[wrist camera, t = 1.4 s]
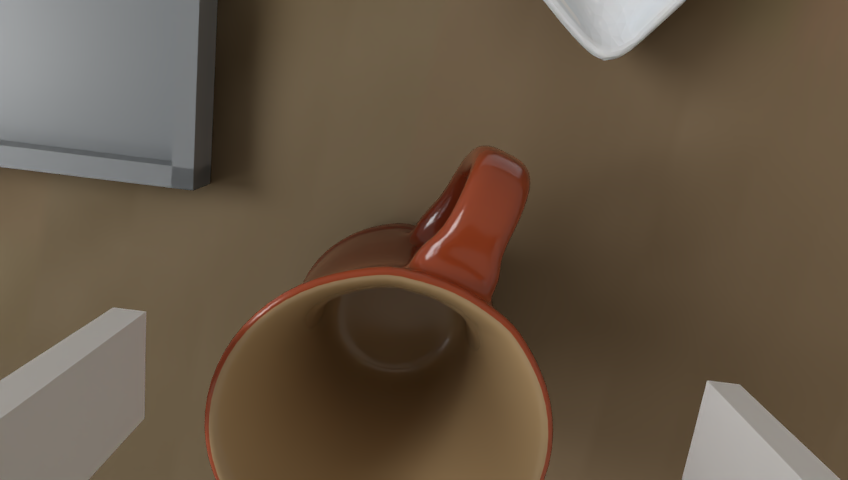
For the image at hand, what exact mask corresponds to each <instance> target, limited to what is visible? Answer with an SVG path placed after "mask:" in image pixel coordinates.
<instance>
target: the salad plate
mask: <svg viewBox="0 0 848 480" xmlns="http://www.w3.org/2000/svg"><path fill="white" fill-rule="evenodd" d="M543 1H544V2H545V3H546V4H547V6H548V7H549V8H550V9H551V11H552V12H553V13H554V14H555V16H556V17H557V18H558V19H559V21H560V22H561V23H562V24H563V25H564V26H565V28H566V29H567V30H568V31H569V32H570V33H571V34H572V36H573V37H574V38H575V39H576V40H577V41H578V42H579V43H580V44H581V46H582V47H584V48H585V49H586V50H587V51H588V52H589V53H591V54H592V55H594V56H595V57H597V58H599V59H602V60H612V59H616V58H619V57H621V56H623V55H624V54H626V53H628V52H629V51H631V50H632V49H633V48H634V47H636V46H637V45H638V44H639V43H640V42H641V41H643V40H644V39H645V38H646V37H647V36H648V35H649V34H650V33H651V32H653V31H654V30H655V29H656V28H657V27H658V26H659V25H660V24H661V23H662V22H663V21H665V20H666V19H667V18H668V17H669V16H670V15H671V14H672V13H673V12H674V11H676V10H677V9H678V8H679V7H680V6H681V5H682V4H683V3H684V2H685V1H686V0H543Z"/></svg>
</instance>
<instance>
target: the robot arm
mask: <svg viewBox="0 0 848 480" xmlns="http://www.w3.org/2000/svg"><path fill="white" fill-rule="evenodd" d="M145 356H146V311H138V310H130V309H122V308H114V307H113V308H111V309H110V310H108V311H107V312H105V313H104V314H102V315H101V316H99V317H98V318H96V319H94V320H93V321H91V322H90V323H88V324H87V325H85V326H84V327H82V328H81V329H79V330H77V331H76V332H74V333H73V334H71V335H70V336H68V337H67V338H65V339H64V340H62V341H60V342H59V343H57V344H56V345H54V346H53V347H51V348H50V349H48V350H47V351H45V352H44V353H42V354H40V355H39V356H37V357H36V358H34V359H33V360H31V361H30V362H28V363H27V364H25V365H23V366H22V367H20V368H19V369H17V370H16V371H14V372H13V373H11V374H10V375H8V376H6V377H5V378H3V379H2V380H0V480H89V479H90V478H91V477H92V475H93V474H94V473H95V472H96V471H97V470H98V469H99V468H100V467H101V466H102V464H103V463H104V462H105V461H106V460H107V459H108V458H109V457H110V456H111V455H112V453H113V452H114V451H115V450H116V449H117V448H118V447H119V446H120V445H121V444H122V442H123V441H124V440H125V439H126V438H127V437H128V436H129V435H130V434H131V433H132V432H133V430H134V429H135V428H136V427H137V426H138V425H139V424H140V423H141V422H142V421H143V419H144V418H145ZM682 480H841V479H839V478H838V477H837V476H836V475H835V474H834V473H833V472H832V471H831V470H830V469H829V468H828V467H827V466H826V465H825V464H824V463H822V462H821V461H820V460H819V459H818V458H817V457H816V456H815V455H814V454H813V453H812V452H811V451H810V450H809V449H808V448H807V447H806V446H804V445H803V444H802V443H801V442H800V441H799V440H798V439H797V438H796V437H795V436H794V435H793V434H792V433H791V432H790V431H789V430H787V429H786V428H785V427H784V426H783V425H782V424H781V423H780V422H779V421H778V420H777V419H776V418H775V417H774V416H773V415H772V414H770V413H769V412H768V411H767V410H766V409H765V408H764V407H763V406H762V405H761V404H760V403H759V402H758V401H757V400H756V399H755V398H754V397H752V396H751V395H750V394H749V393H748V392H747V391H746V390H745V389H744V388H743V387H742V386H741V385H740V384H733V383H725V382H716V381H708V380H707V383H706V387H705V391H704V395H703V399H702V402H701V406H700V410H699V414H698V418H697V422H696V426H695V430H694V434H693V438H692V442H691V446H690V450H689V453H688V457H687V461H686V465H685V469H684V473H683V477H682Z"/></svg>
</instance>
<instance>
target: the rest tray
mask: <svg viewBox="0 0 848 480" xmlns="http://www.w3.org/2000/svg"><path fill="white" fill-rule="evenodd" d="M217 4H218V0H0V167H5V168H13V169H21V170H29V171H38V172H46V173H54V174H62V175H70V176H79V177H87V178H95V179H103V180H111V181H120V182H128V183H136V184H144V185H153V186H161V187H169V188H177V189H185V190H195V189H198V188H200V187H203V186H205V185H208V184H210V176H211V152H212V127H213V102H214V78H215V53H216V28H217Z"/></svg>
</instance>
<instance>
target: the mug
mask: <svg viewBox="0 0 848 480" xmlns="http://www.w3.org/2000/svg"><path fill="white" fill-rule="evenodd" d="M529 189H530V176H529V172H528V170H527V168H526V166H525V165H524V164H523V163H522V162H521V161H520V160H518V159H517V158H515V157H514V156H512V155H510V154H508V153H506V152H504V151H502V150H500V149H498V148H495V147H492V146H479V147H477V148H475V149H473V150H472V151H471V152H470V153H469V154H468V155H467V156H466V158H465V159H464V160H463V161H462V163H461V164H460V166H459V167H458V169H457V171H456V172H455V174H454V175H453V177H452V179H451V180H450V182H449V184H448V185H447V187H446V188H445V190H444V192H443V193H442V194H441V196H440V197H439V198H438V199H437V201H436V202H435V203H434V204H433V205H432V206H431V207H430V208H429V209H428V210H427V211H426V212H425V214H424V215H423V216H422V217H421V219H420V220H419V222H418V223H417V224H416V226H415V225H411V224H404V223H395V224H386V225H380V226H375V227H371V228H367V229H364V230H362V231H359V232H356V233H354V234H352V235H350V236H348V237H347V238H345V239H343V240H341V241H340V242H338V243H337V244H335V245H334V246H332V247H331V248H330V249H329V250H327V251H326V252H325V253H324V254H323V255H322V256H321V257H320V258H319V259H318V260H317V262H316V263H315V264H314V265H313V267H312V268H311V270H310V271H309V273H308V274H307V276H306V278H305V280H304V282H303V284H300V285H298V286H296V287H294V288H292V289H290V290H288V291H286V292H285V293H283V294H281V295H280V296H278V297H277V298H275V299H274V300H272V301H270V302H269V303H268V304H267V305H265V306H264V307H263V308H262V309H260V310H259V311H258V312H257V313H255V314H254V315H253V316H252V317H251V318H250V319H249V320H248V321H247V322H246V323H245V324H244V325H243V326H242V328H241V329H240V330H239V331H238V332H237V334H236V335H235V336H234V337H233V339H232V340H231V342H230V343H229V345H228V346H227V348H226V349H225V351H224V353H223V355H222V357H221V359H220V361H219V363H218V365H217V367H216V370H215V372H214V375H213V377H212V380H211V384H210V388H209V392H208V395H207V402H206V408H205V440H206V447H207V452H208V458H209V461H210V464H211V468H212V471H213V474H214V476H215V479H216V480H544V479H545V476H546V472H547V469H548V466H549V461H550V456H551V451H552V440H553V418H552V410H551V403H550V398H549V394H548V391H547V387H546V384H545V381H544V378H543V376H542V373H541V370H540V368H539V366H538V364H537V362H536V360H535V358H534V356H533V354H532V352H531V351H530V349H529V347H528V345H527V344H526V342H525V341H524V339H523V337H522V336H521V334H520V333H519V332H518V330H517V329H516V328H515V326H514V325H513V324H512V323H511V322H510V321H509V320H508V319H507V318H505V317H504V316H503V315H502V314H501V313H500V312H498V311H497V310H496V309H495V308H494V307H493V303H492V296H493V293H494V291H495V288H496V286H497V283H498V280H499V275H500V267H501V261H502V257H503V254H504V251H505V249H506V247H507V245H508V242H509V240H510V238H511V236H512V234H513V232H514V230H515V228H516V226H517V224H518V221H519V219H520V217H521V214H522V212H523V209H524V207H525V204H526V201H527V197H528V194H529Z"/></svg>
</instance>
